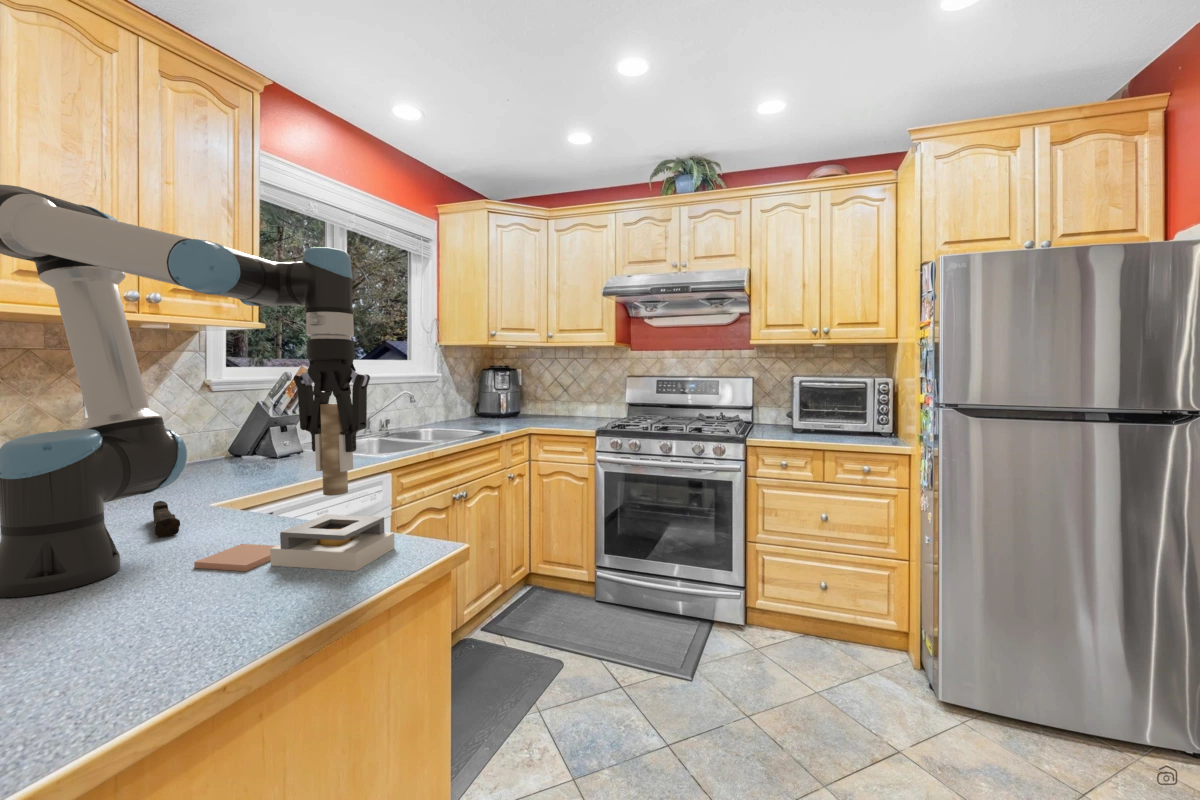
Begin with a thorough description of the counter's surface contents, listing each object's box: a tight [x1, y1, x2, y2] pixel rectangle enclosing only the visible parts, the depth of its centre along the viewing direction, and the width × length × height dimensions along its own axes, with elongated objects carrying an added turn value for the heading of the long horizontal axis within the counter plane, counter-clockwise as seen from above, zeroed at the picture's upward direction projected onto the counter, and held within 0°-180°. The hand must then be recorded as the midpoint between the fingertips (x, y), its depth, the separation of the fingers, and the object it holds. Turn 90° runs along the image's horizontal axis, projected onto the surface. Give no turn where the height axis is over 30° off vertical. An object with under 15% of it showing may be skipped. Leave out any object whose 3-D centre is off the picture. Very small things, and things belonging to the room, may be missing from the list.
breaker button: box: [319, 528, 350, 546], centre depth 98 cm, size 5×5×3 cm
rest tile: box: [193, 543, 276, 572], centre depth 96 cm, size 10×10×1 cm
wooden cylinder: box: [320, 402, 349, 497], centre depth 97 cm, size 4×4×16 cm
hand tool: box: [152, 500, 181, 539], centre depth 117 cm, size 19×4×5 cm, turn 41°
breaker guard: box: [270, 513, 395, 572], centre depth 98 cm, size 16×12×6 cm
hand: (334, 469), depth 97 cm, fingers closed on wooden cylinder, 4 cm apart
